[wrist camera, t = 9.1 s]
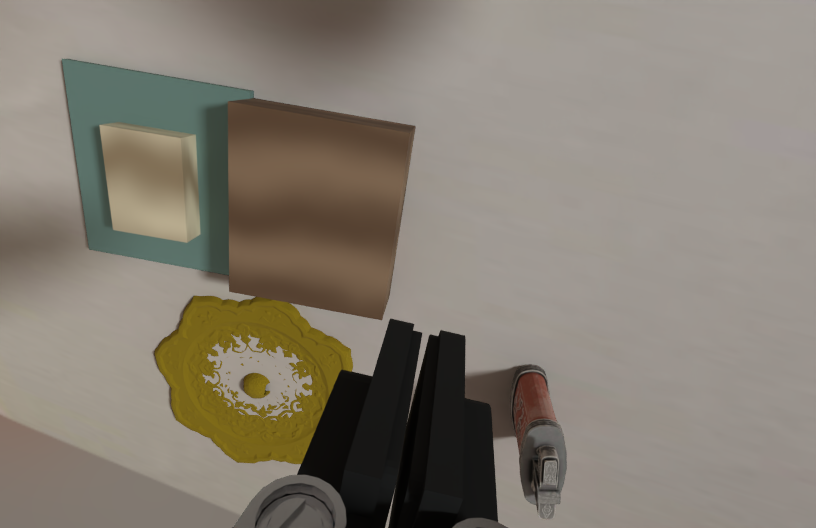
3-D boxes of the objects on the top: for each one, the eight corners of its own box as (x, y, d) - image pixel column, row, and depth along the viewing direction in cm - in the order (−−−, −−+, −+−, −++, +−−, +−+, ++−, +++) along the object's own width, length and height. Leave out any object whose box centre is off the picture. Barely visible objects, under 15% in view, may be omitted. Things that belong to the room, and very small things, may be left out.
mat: (68, 59, 33) (61, 58, 32) (253, 91, 33) (249, 91, 32) (94, 246, 39) (89, 249, 38) (251, 275, 39) (248, 278, 38)
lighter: (546, 436, 42) (570, 537, 33) (509, 435, 42) (523, 535, 33) (550, 364, 39) (579, 453, 30) (510, 364, 39) (526, 452, 30)
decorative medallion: (346, 290, 39) (342, 298, 37) (368, 462, 46) (365, 473, 45) (137, 293, 41) (126, 300, 40) (190, 455, 49) (183, 466, 47)
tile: (180, 138, 32) (195, 134, 34) (99, 124, 32) (118, 122, 34) (187, 242, 35) (200, 234, 37) (113, 229, 35) (130, 222, 37)
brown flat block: (253, 98, 33) (227, 101, 29) (415, 126, 32) (410, 132, 29) (251, 270, 38) (229, 291, 35) (389, 296, 38) (381, 320, 34)
